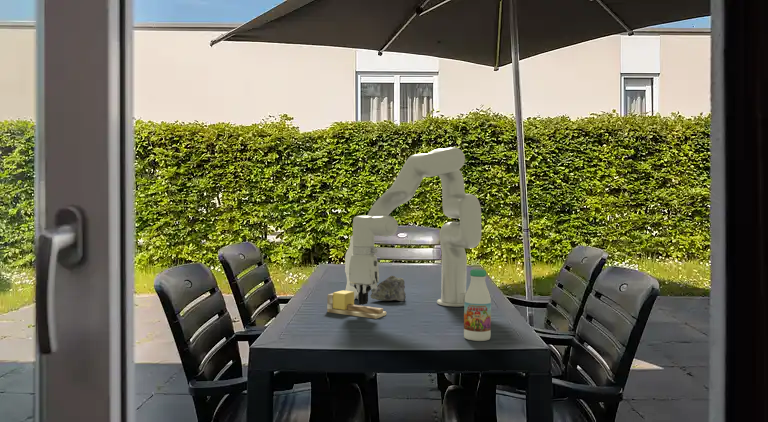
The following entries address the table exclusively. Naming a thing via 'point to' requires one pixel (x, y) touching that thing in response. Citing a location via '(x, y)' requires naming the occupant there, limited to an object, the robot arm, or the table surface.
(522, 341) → the table surface
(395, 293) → the mineral rock
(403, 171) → the robot arm
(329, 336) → the table surface
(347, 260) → the white bottle
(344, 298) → the block
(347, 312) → the rail
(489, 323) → the milk bottle
